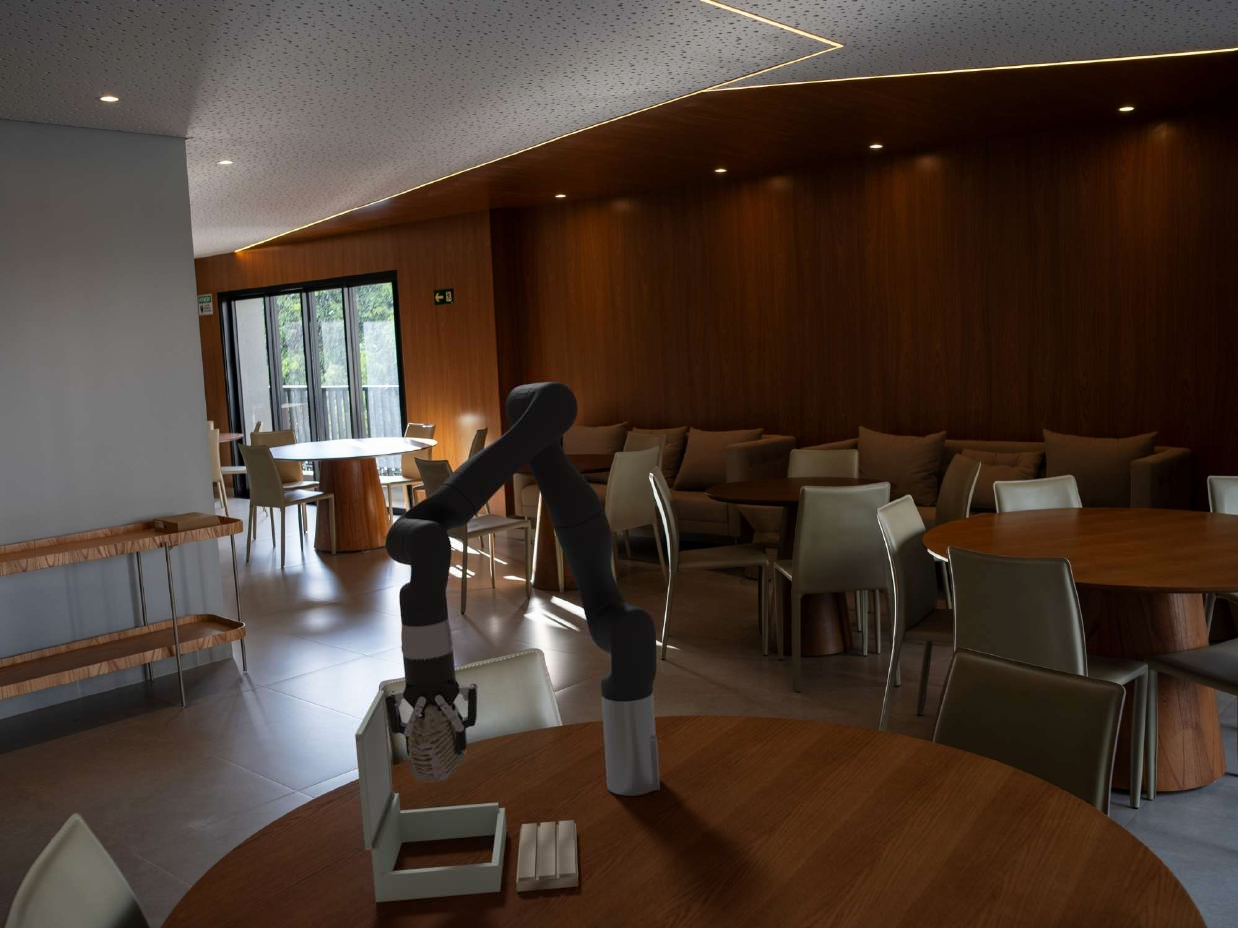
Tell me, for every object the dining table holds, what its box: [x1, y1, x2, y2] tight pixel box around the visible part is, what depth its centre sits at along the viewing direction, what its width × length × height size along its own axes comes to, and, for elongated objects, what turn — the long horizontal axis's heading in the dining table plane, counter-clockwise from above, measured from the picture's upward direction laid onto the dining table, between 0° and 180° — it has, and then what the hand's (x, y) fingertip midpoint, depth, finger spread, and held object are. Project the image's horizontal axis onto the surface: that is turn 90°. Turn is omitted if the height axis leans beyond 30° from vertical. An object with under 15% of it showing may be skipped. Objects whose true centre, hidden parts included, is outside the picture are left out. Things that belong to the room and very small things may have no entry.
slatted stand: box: [516, 819, 580, 892], centre depth 155 cm, size 9×17×2 cm, turn 3°
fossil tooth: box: [408, 704, 468, 783], centre depth 154 cm, size 12×6×15 cm
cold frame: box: [354, 690, 507, 903], centre depth 154 cm, size 19×19×25 cm
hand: (437, 754), depth 154 cm, fingers closed on fossil tooth, 6 cm apart
